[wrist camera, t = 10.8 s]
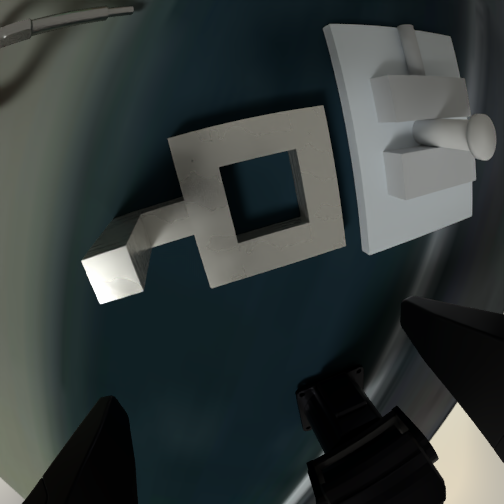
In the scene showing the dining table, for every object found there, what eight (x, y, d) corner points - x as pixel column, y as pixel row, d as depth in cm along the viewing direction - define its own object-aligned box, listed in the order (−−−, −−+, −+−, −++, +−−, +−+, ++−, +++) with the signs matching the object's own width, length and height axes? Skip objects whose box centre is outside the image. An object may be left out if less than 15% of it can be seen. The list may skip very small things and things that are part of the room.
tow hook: (-37, 59, 10) (-43, 1, 5) (88, 21, 16) (127, -34, 11) (-25, 142, 13) (-40, 108, 8) (105, 93, 19) (148, 51, 14)
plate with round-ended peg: (464, 213, 24) (522, 236, 17) (362, 250, 22) (423, 291, 16) (442, 38, 18) (504, 27, 11) (322, 28, 16) (383, -9, 10)
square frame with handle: (143, 297, 19) (133, 366, 13) (96, 163, 16) (51, 176, 10) (335, 238, 21) (395, 280, 15) (312, 107, 18) (377, 96, 11)
